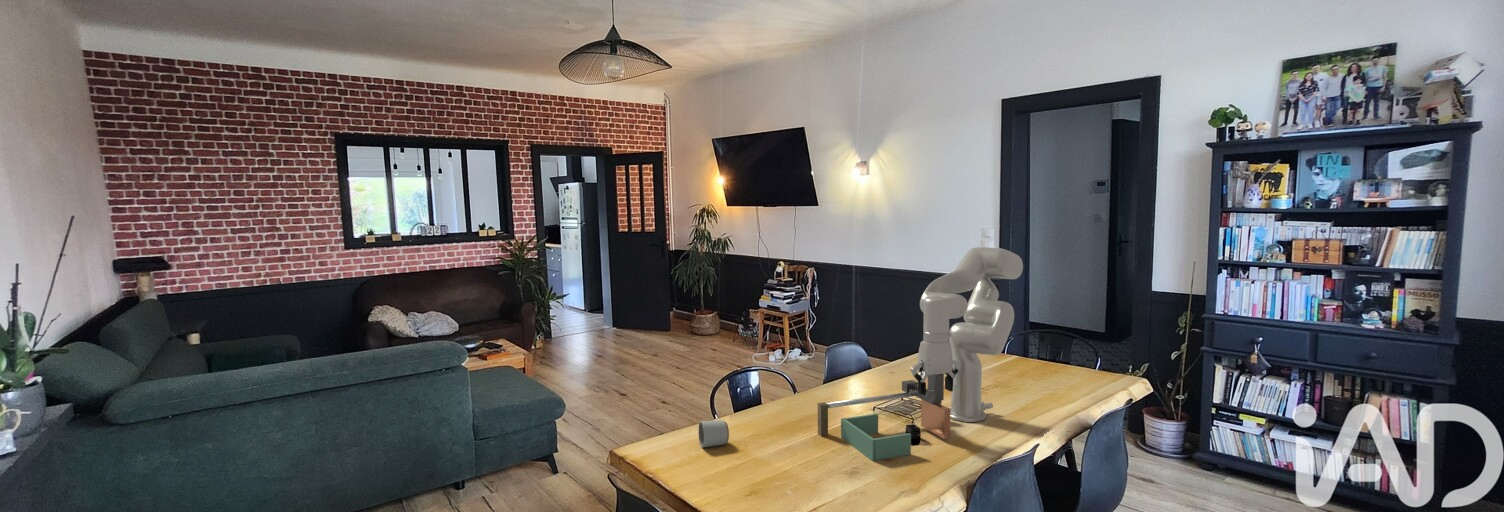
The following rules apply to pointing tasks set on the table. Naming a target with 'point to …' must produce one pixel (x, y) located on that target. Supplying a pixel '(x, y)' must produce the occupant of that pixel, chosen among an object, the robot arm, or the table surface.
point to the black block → (914, 435)
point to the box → (874, 449)
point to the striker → (932, 405)
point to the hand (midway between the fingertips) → (935, 392)
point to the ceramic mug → (713, 433)
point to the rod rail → (824, 406)
